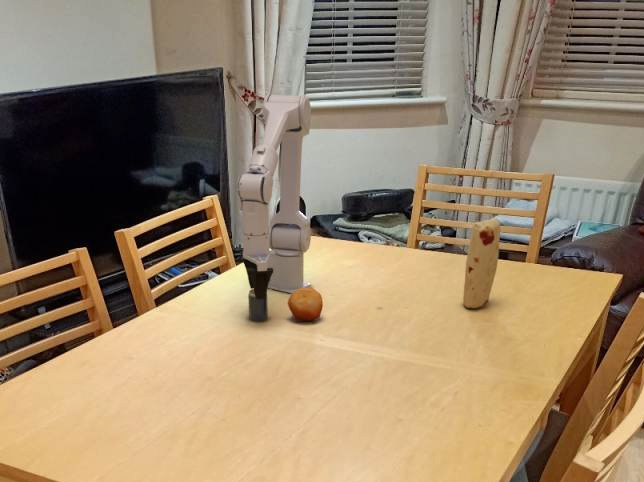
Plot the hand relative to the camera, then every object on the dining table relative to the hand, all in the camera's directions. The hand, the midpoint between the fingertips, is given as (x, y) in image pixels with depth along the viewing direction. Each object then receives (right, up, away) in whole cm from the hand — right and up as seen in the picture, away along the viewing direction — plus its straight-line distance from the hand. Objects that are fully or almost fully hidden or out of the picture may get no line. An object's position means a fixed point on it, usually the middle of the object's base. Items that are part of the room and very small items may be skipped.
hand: (257, 293), depth 174 cm
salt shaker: (0, -5, +3) cm, 6 cm away
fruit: (+11, -5, +3) cm, 13 cm away
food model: (+53, 0, +10) cm, 54 cm away
